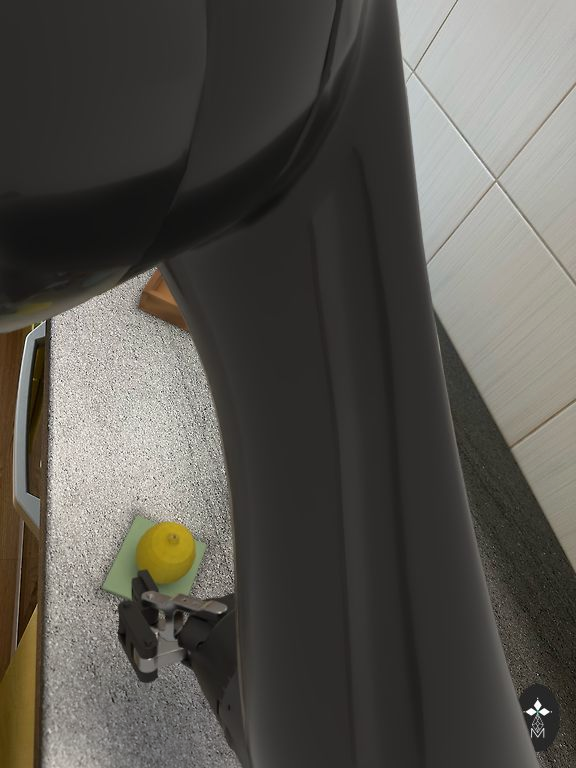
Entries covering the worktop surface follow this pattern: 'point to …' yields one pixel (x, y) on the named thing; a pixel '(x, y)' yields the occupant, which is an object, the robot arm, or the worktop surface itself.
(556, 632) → the worktop surface
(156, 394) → the worktop surface
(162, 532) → the fruit
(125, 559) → the mat
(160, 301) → the crate
